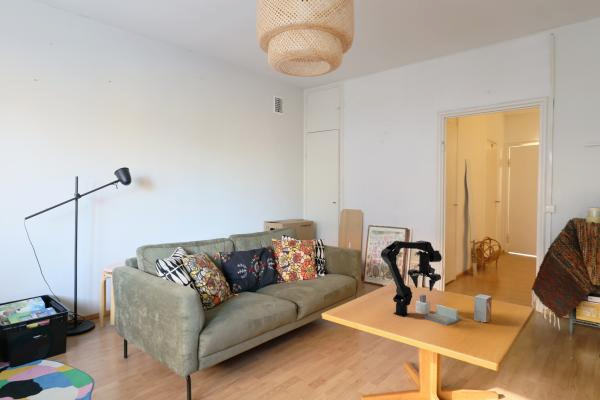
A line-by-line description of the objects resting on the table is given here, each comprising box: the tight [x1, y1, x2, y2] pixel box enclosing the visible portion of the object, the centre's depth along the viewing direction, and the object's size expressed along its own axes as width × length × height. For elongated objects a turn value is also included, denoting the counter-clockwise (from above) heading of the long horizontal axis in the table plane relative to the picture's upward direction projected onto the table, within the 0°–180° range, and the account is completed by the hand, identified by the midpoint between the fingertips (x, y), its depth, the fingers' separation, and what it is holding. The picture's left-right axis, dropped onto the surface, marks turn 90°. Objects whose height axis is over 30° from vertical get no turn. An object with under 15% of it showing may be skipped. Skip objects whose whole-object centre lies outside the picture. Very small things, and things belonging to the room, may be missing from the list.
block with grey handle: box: [415, 293, 431, 315], centre depth 205 cm, size 5×6×10 cm
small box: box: [473, 293, 493, 323], centre depth 193 cm, size 8×6×13 cm
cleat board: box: [423, 304, 462, 326], centre depth 194 cm, size 14×14×6 cm
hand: (423, 289), depth 206 cm, fingers open, 9 cm apart
